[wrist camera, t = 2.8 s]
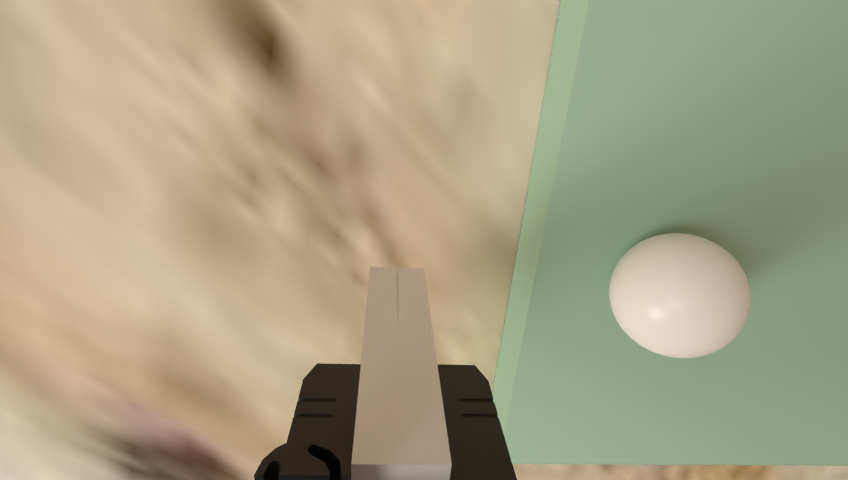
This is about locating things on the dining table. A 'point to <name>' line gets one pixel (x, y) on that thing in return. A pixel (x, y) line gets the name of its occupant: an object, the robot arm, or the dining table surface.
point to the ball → (680, 295)
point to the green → (688, 214)
